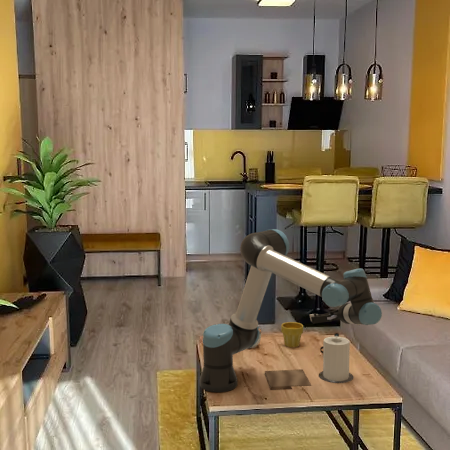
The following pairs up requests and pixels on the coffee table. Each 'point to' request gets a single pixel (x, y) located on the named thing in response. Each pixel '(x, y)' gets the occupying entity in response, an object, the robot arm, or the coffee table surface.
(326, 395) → the coffee table surface
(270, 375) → the cutting board
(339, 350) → the towel roll
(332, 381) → the disc
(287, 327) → the plant pot
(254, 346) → the lidded jar
